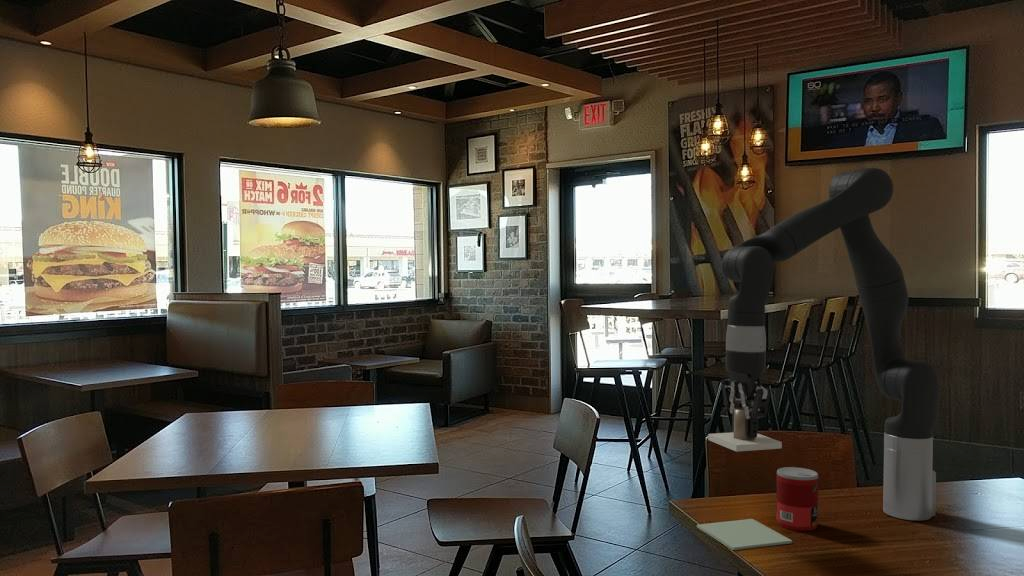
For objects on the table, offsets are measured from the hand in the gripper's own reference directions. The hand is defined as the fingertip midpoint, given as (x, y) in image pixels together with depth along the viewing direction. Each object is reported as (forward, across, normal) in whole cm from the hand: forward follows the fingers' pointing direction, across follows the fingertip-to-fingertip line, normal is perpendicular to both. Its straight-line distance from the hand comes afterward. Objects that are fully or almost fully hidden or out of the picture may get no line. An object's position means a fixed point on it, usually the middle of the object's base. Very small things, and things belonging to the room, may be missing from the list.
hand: (744, 434), depth 149 cm
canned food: (+20, +2, -14) cm, 25 cm away
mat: (+20, 0, 0) cm, 20 cm away
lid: (+2, 0, 0) cm, 2 cm away
